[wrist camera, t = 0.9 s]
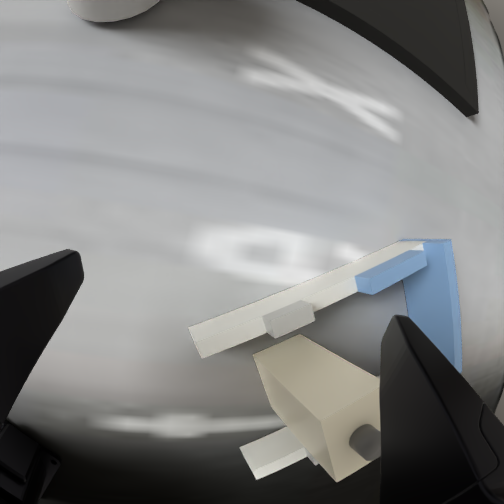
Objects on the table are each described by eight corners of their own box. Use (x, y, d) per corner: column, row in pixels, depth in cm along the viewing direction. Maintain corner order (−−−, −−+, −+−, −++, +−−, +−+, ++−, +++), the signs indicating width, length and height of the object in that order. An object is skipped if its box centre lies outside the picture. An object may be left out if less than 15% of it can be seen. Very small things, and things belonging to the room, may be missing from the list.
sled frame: (243, 456, 20) (266, 497, 16) (188, 327, 19) (201, 355, 14) (421, 356, 25) (461, 371, 20) (403, 239, 24) (450, 239, 19)
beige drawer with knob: (271, 407, 21) (349, 495, 11) (252, 354, 20) (335, 435, 11) (314, 386, 22) (407, 456, 12) (299, 333, 21) (403, 391, 12)
